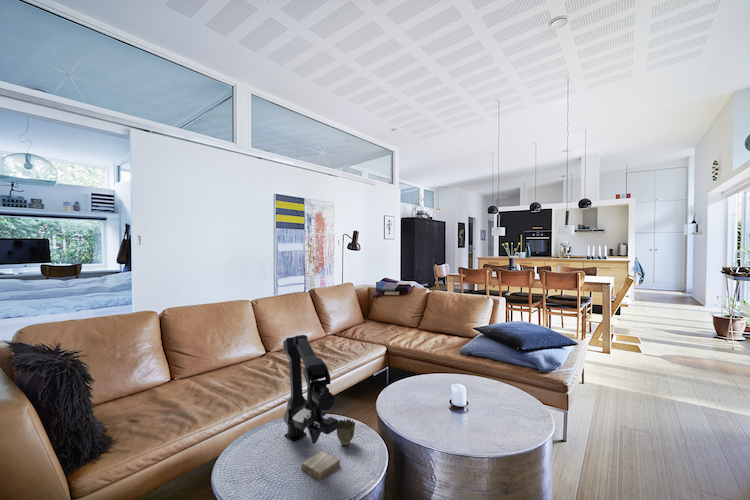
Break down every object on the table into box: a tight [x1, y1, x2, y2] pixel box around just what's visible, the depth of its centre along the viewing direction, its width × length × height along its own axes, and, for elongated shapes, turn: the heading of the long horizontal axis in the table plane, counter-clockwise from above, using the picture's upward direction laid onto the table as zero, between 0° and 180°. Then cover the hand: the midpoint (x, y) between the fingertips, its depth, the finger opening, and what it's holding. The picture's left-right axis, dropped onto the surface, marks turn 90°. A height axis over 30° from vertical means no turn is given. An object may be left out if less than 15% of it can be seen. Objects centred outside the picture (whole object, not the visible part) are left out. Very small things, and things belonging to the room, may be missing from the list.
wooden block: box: [301, 450, 341, 481], centre depth 114 cm, size 3×10×9 cm
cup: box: [336, 418, 356, 447], centre depth 128 cm, size 8×7×8 cm
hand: (314, 443), depth 116 cm, fingers closed
